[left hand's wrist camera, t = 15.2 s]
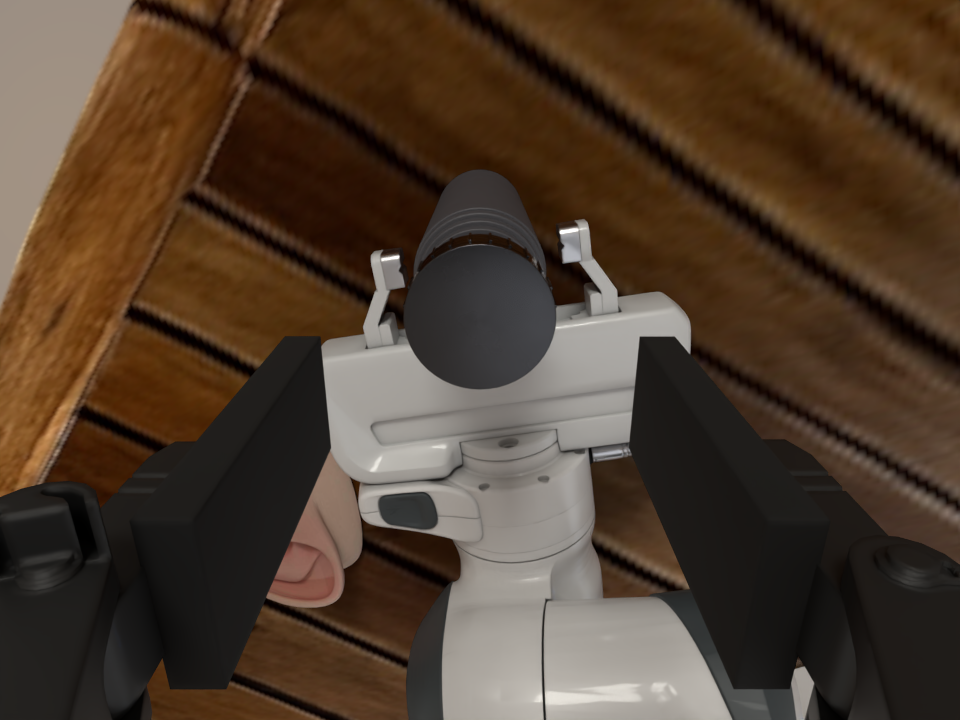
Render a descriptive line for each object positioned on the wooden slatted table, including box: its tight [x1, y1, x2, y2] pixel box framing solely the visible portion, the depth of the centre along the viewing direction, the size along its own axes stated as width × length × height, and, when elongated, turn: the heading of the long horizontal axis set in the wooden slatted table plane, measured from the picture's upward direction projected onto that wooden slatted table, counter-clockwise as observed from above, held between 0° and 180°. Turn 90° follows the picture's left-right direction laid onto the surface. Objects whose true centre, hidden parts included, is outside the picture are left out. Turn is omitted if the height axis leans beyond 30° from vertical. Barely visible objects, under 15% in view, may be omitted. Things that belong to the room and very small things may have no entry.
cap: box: [403, 233, 557, 390], centre depth 20 cm, size 5×5×2 cm
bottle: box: [414, 170, 546, 276], centre depth 29 cm, size 5×5×20 cm
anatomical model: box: [266, 452, 362, 608], centre depth 43 cm, size 13×4×12 cm
